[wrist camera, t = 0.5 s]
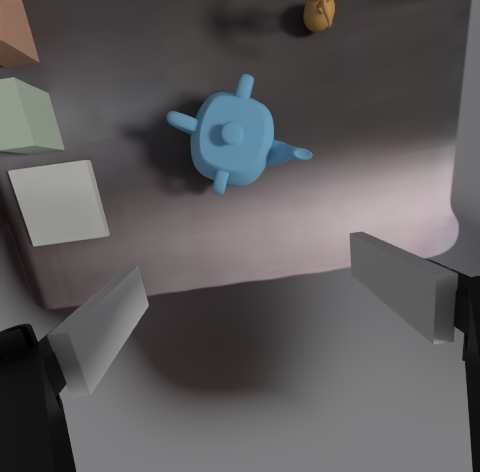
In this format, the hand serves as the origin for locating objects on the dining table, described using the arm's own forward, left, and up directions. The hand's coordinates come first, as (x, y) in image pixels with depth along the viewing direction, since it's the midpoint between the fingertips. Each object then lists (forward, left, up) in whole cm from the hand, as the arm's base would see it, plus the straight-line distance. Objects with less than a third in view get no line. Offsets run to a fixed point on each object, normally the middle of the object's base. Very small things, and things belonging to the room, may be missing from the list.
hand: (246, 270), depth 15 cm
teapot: (-10, +1, -27) cm, 29 cm away
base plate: (-5, -28, -26) cm, 39 cm away
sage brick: (-17, -28, -27) cm, 42 cm away
